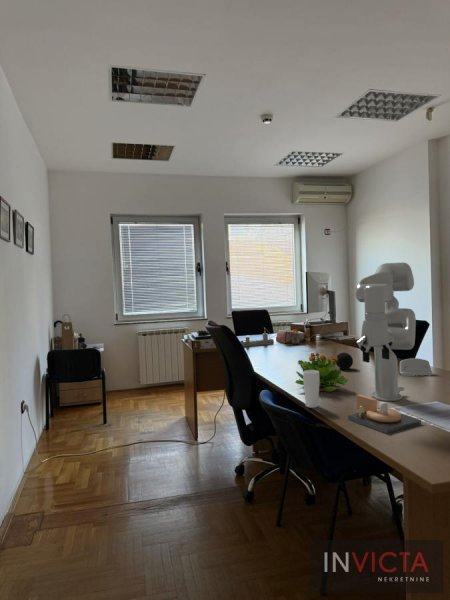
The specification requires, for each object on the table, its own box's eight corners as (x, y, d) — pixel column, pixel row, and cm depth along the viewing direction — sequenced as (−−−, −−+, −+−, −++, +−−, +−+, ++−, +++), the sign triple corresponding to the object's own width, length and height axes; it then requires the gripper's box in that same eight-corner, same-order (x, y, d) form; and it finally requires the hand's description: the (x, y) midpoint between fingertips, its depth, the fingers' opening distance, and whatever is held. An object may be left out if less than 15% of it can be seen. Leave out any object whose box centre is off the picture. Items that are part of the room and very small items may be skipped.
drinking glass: (318, 409, 167) (318, 373, 167) (302, 408, 170) (301, 372, 169) (321, 404, 173) (320, 370, 173) (305, 403, 176) (304, 369, 175)
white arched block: (401, 376, 220) (399, 357, 223) (398, 377, 224) (396, 359, 227) (433, 375, 218) (431, 357, 221) (430, 376, 222) (427, 358, 225)
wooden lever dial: (369, 405, 164) (368, 392, 164) (408, 418, 148) (408, 403, 148) (347, 410, 159) (347, 397, 158) (385, 424, 142) (385, 409, 142)
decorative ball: (352, 367, 245) (352, 351, 245) (353, 371, 235) (353, 354, 235) (335, 367, 247) (335, 351, 247) (335, 370, 238) (335, 354, 237)
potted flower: (304, 397, 185) (303, 359, 184) (283, 385, 208) (282, 351, 207) (352, 392, 191) (351, 355, 191) (326, 380, 214) (326, 348, 214)
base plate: (381, 411, 163) (381, 397, 162) (421, 424, 147) (421, 409, 146) (348, 419, 154) (347, 405, 154) (386, 434, 138) (386, 418, 138)
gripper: (385, 314, 163) (385, 356, 164) (350, 317, 156) (351, 361, 157) (399, 315, 156) (400, 359, 157) (364, 319, 149) (365, 365, 150)
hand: (376, 360), depth 157 cm, fingers open, 9 cm apart
